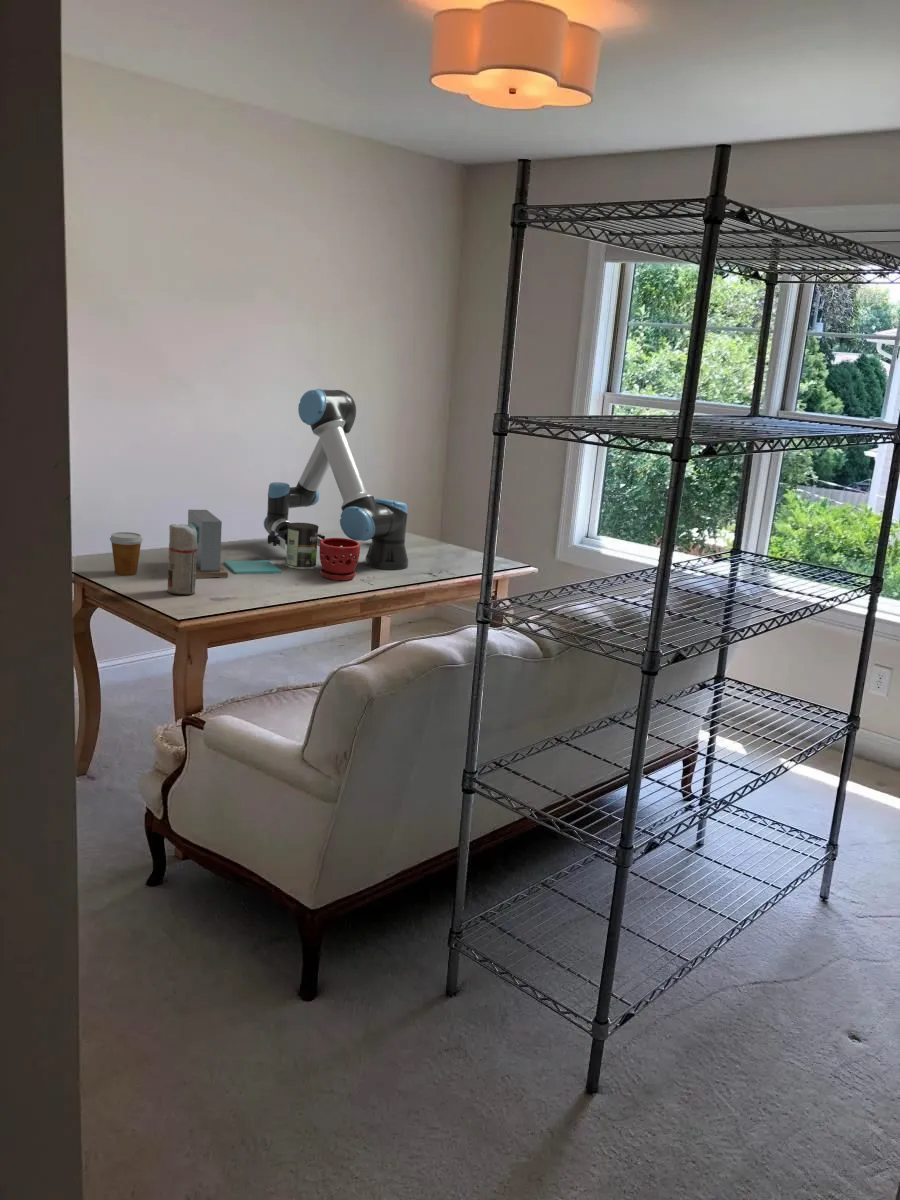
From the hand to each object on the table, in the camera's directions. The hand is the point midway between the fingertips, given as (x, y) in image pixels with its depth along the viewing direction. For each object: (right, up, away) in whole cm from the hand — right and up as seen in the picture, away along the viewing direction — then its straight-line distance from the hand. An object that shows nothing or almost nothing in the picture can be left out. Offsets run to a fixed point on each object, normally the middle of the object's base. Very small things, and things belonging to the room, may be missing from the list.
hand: (303, 544), depth 330 cm
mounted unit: (-31, -9, -13) cm, 34 cm away
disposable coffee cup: (-51, -11, -27) cm, 58 cm away
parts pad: (-16, -8, -6) cm, 19 cm away
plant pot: (+12, -11, -7) cm, 18 cm away
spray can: (-29, -17, -43) cm, 54 cm away
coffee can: (-2, -7, +4) cm, 8 cm away
